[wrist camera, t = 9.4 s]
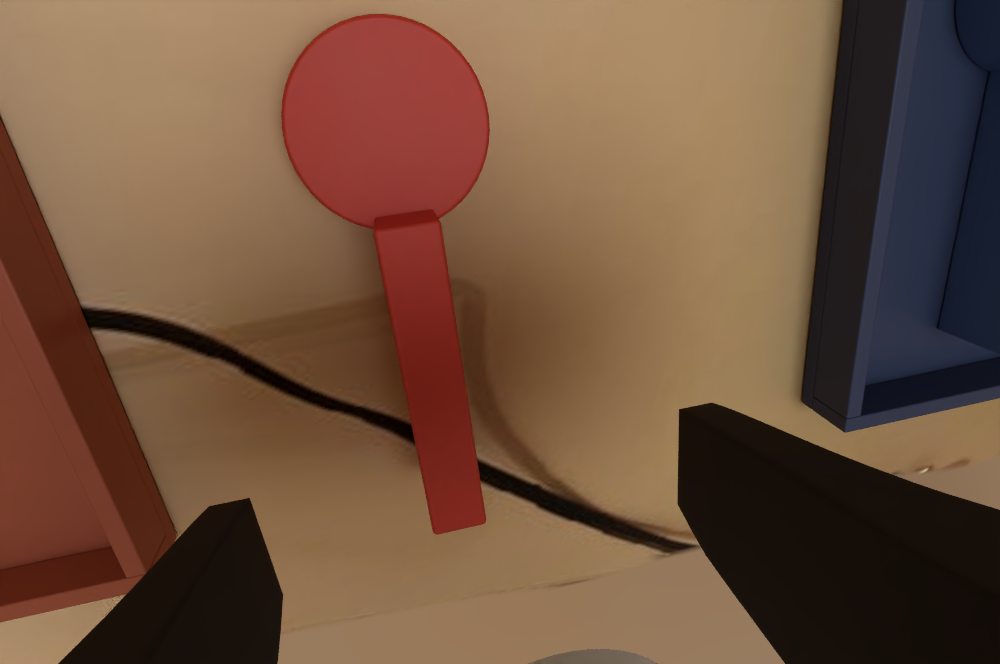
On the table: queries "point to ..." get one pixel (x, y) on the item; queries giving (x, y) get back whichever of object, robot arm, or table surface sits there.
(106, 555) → the red tray
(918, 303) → the blue tray
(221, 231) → the table surface
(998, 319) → the blue spoon
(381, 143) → the red spoon
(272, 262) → the table surface
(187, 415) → the table surface
